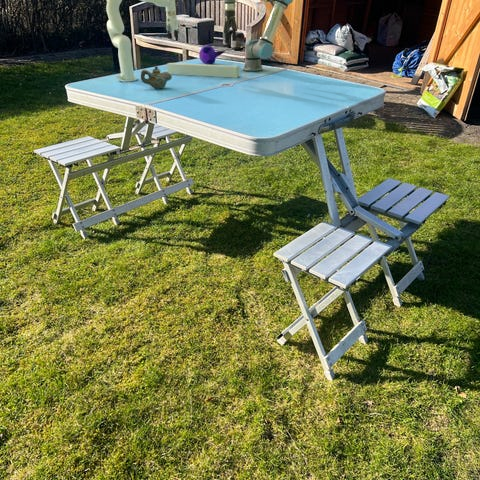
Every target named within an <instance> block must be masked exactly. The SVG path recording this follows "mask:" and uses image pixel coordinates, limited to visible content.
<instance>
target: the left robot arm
mask: <svg viewBox="0 0 480 480" xmlns="http://www.w3.org/2000/svg"><path fill="white" fill-rule="evenodd" d="M105 1H106V9H105V10H106V14H107V17H108V20H107V22H106V29H107V33H108V35H109V37H110V40H111V43H112V45H113V46H114V47H115V48H117V49H118V53H117V56H118V62H119V67H120V68H119V69H120V74H119V75H115V76H114V78H115V79H117V80H119V81H120V82H123V83H126V82H128V83H130V82H135V81H137V79H138V78H137V77H135V71H134V63H133V55H132V41H131V39H130V38H129V36H127V35H125V34H123V33H124V31H125V25H124V22H123V19H122V16H121V13H120V5H121V4H122V2H123V0H105ZM139 1H141V2H144V3H151V4H154V5H155V6H157V7H161V8H165V15H166V26H165V29H166V33H167V39H168V40H172V39H173V37H174V38H179V23H178V17H177V8H176V0H139ZM172 31H173V33H172Z"/></svg>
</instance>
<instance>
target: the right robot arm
mask: <svg viewBox="0 0 480 480" xmlns="http://www.w3.org/2000/svg"><path fill="white" fill-rule="evenodd" d="M236 1H237V0H224V16H225V18H224V24H223V25H224V26H223V34H224V41H225V42H224V43H225V44H230V28H231V30H232V32H231V37H232V39H231V40H232V42H236V41H237V32H238V26H237V21H236V7H237V6H236ZM262 2H266V3H267V2H269V3H272V4H273V7H272V10H271V12H270V15H269V17H268V20H267V23H266V26H265V29H264V31H263V32H262V33H263V34H262V36H260V37H259V39H249V40H248V39H247V40H246V41H245V44H244V45H245V61H244V65H243V71H244V72H260V71H262V70H263V66H262V64H263V65H266V63H265V62H261V60H268V59H270V58H271V57H272V56H273V54H274V49H275V48H274V41H273V40H274V38H275V36H276V32H277V30H278V27H279V24H280V22H281V21H282V17H283V14H284V11H285V10H287V9H288V7H289V5H290V4H292V3H293V2H294V0H262Z"/></svg>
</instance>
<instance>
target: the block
mask: <svg viewBox="0 0 480 480" xmlns="http://www.w3.org/2000/svg"><path fill="white" fill-rule="evenodd" d="M166 69H167V71H166V72H168V73H170V74H171V75H176V76H177V75H178V76H194V77H212V78H213V77H216V78H231V79H232V78H234V79H237V78H238V77H239V78H240V66H239V65H226V64H213V65H207V64H204V63H184V62H168V63H166Z"/></svg>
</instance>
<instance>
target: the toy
mask: <svg viewBox="0 0 480 480" xmlns="http://www.w3.org/2000/svg"><path fill="white" fill-rule="evenodd" d="M224 53H226V50H218V51H216V50H215V48H214V47H213V46H211V45H204V46H202V47H201V49H200V50H199V52H198V57H199V60H200V61H201V62H202V64H207V65H215V63H216V59H217V58H218V57H219V56H221V55H223V54H224Z"/></svg>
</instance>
